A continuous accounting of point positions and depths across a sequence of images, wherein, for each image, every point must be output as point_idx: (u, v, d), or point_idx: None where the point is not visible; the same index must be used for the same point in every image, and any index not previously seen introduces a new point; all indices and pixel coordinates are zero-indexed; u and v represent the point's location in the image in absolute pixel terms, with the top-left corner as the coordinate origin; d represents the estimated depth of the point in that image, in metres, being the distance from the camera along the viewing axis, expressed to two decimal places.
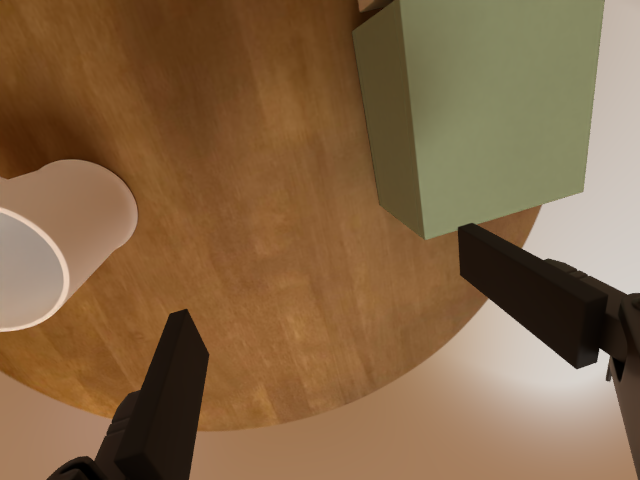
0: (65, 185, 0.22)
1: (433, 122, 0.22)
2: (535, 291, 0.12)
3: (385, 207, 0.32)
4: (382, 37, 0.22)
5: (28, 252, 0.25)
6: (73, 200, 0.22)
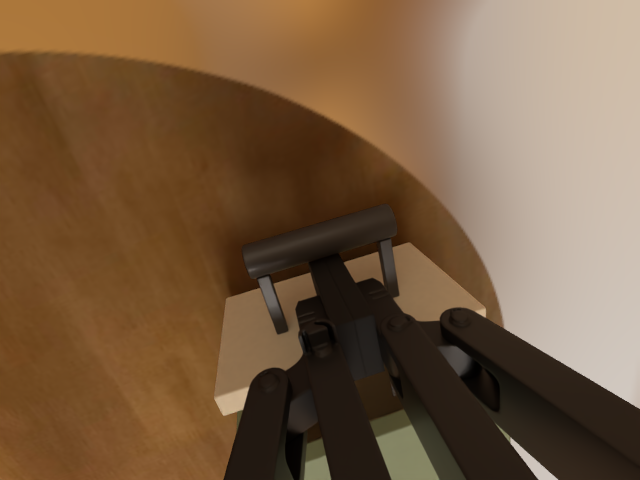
0: None
1: None
2: None
3: None
4: None
5: None
6: None
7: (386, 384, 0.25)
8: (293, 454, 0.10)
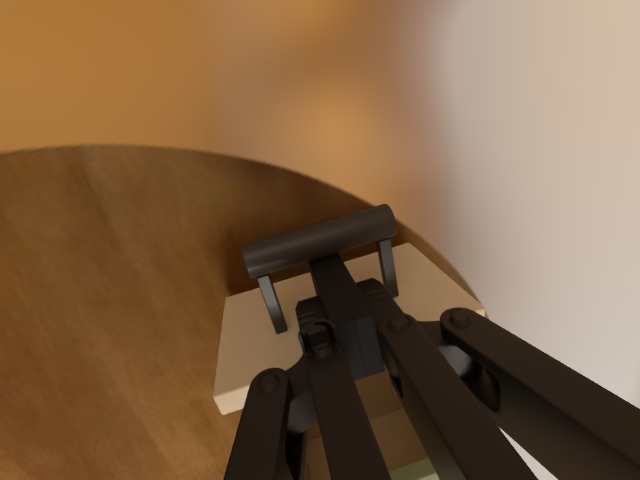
0: None
1: None
2: None
3: None
4: None
5: None
6: None
7: (385, 384, 0.25)
8: (293, 454, 0.10)
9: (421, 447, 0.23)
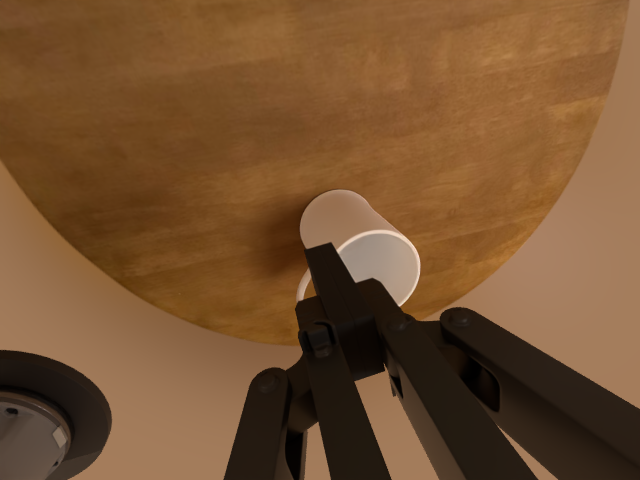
0: (319, 226, 0.30)
1: None
2: None
3: None
4: None
5: (364, 264, 0.35)
6: (331, 222, 0.28)
7: None
8: (293, 454, 0.10)
9: None
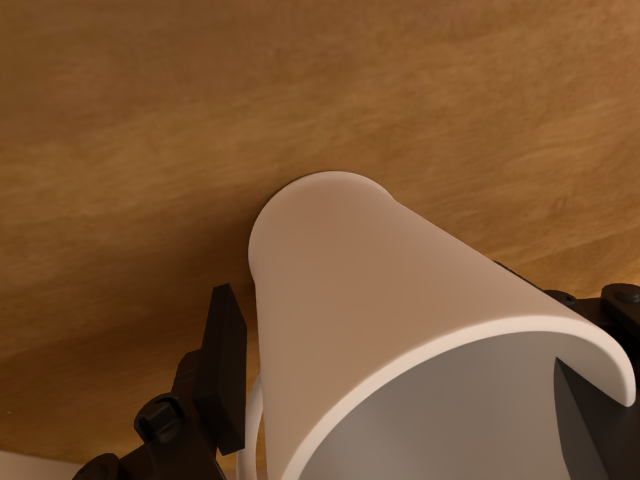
0: (274, 274, 0.10)
1: None
2: None
3: None
4: None
5: None
6: (303, 264, 0.09)
7: None
8: None
9: None
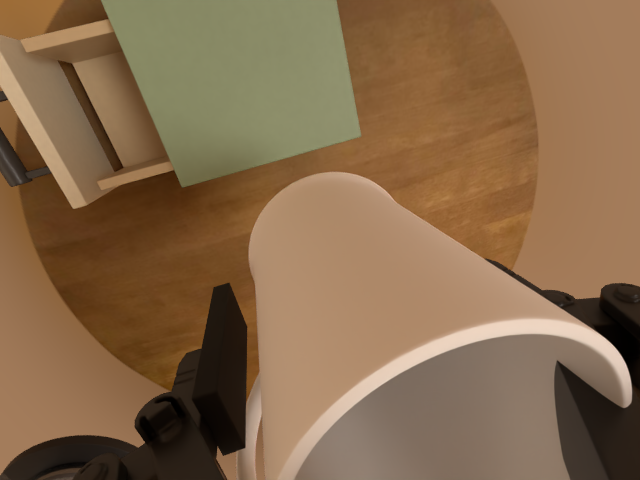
0: (273, 275, 0.11)
1: (262, 146, 0.27)
2: None
3: None
4: None
5: None
6: (301, 266, 0.09)
7: None
8: None
9: None
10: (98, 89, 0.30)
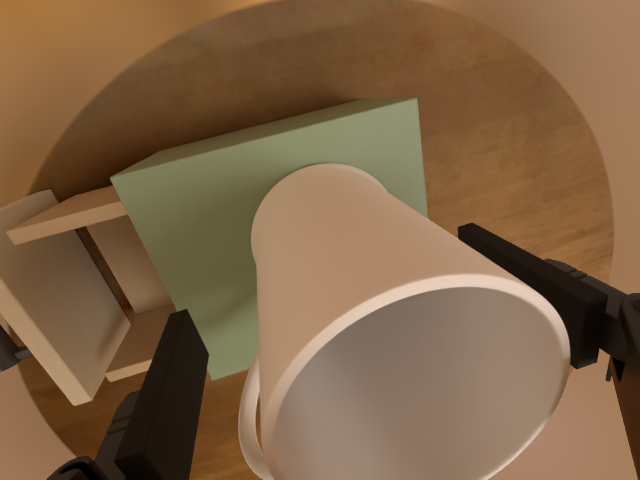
0: (271, 252, 0.12)
1: None
2: None
3: None
4: None
5: (384, 314, 0.17)
6: (294, 242, 0.11)
7: None
8: None
9: None
10: (107, 234, 0.24)
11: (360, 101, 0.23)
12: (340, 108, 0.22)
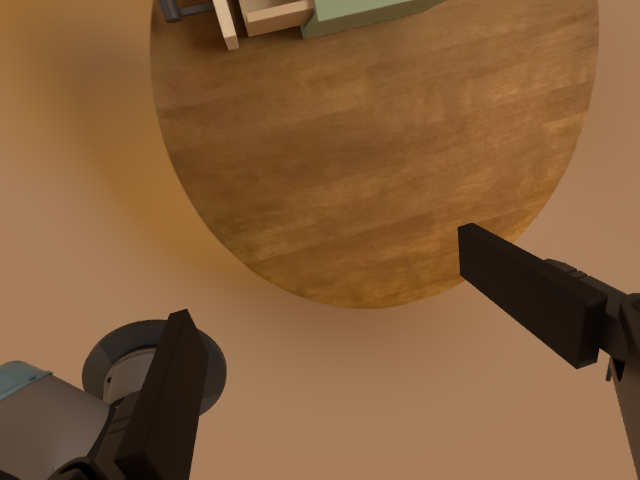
0: None
1: None
2: (535, 291, 0.12)
3: (428, 8, 0.40)
4: (326, 25, 0.34)
5: None
6: None
7: None
8: None
9: None
10: None
11: None
12: None
